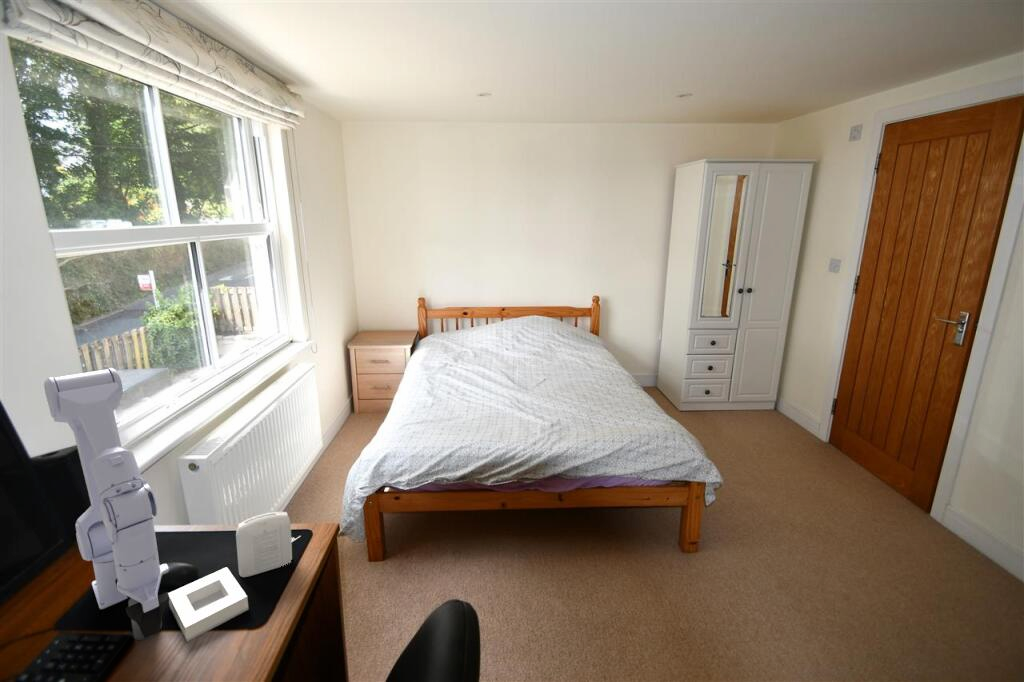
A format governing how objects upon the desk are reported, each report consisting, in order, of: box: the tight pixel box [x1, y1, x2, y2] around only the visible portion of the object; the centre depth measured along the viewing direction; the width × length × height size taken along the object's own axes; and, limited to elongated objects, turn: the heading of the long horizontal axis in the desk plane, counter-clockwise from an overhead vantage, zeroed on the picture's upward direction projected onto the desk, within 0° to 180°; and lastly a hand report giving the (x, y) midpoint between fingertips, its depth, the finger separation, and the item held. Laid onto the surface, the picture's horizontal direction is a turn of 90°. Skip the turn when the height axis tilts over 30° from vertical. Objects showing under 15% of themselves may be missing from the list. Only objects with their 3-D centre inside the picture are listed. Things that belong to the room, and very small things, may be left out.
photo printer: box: [235, 511, 293, 578], centre depth 98 cm, size 10×4×12 cm, turn 124°
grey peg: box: [127, 593, 163, 641], centre depth 82 cm, size 4×4×7 cm
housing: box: [167, 567, 249, 642], centre depth 88 cm, size 11×10×3 cm
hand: (146, 620), depth 82 cm, fingers open, 7 cm apart
